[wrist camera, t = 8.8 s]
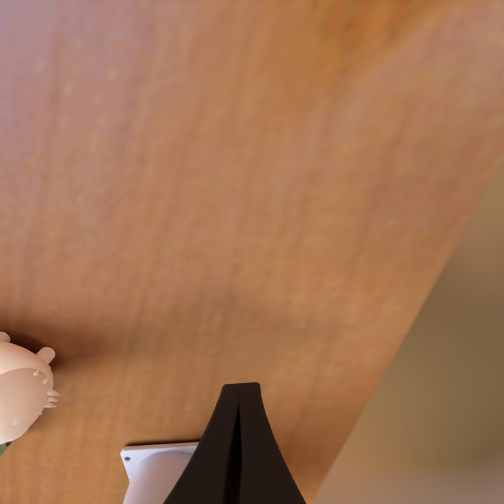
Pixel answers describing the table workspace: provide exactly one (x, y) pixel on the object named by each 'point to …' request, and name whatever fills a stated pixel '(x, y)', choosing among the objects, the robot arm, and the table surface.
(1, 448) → the block
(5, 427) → the toy creature
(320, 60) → the table surface
